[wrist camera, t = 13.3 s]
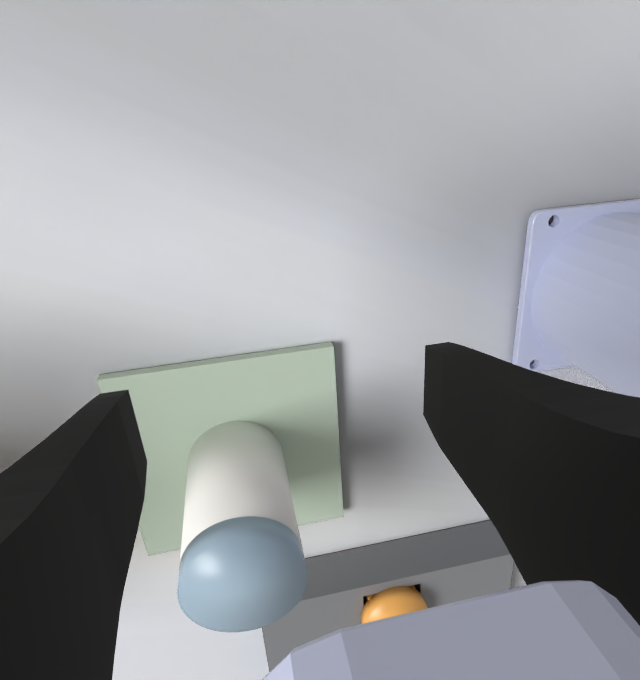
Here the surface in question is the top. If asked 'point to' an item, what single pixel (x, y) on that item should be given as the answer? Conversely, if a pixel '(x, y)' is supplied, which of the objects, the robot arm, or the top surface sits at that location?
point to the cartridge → (239, 532)
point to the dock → (392, 580)
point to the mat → (236, 405)
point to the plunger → (391, 603)
